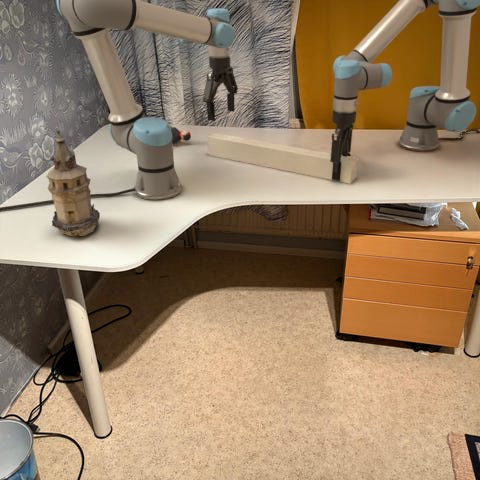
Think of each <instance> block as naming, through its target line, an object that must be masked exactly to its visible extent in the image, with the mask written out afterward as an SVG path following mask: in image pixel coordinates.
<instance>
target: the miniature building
mask: <svg viewBox="0 0 480 480" xmlns="http://www.w3.org/2000/svg"><path fill="white" fill-rule="evenodd" d="M56 134H57V136H56V138H55V140H54V141H55V142H56V147H55V154H54V156H52V157H51V161H52V162H53V165H54V167H53V168H51V169H50V170H49V171H48V173H47V174H46V178H47V179H48V182H49V184H48V186H47V190H48V191H49V193H50V194H51V200H53V201H54V203H53V205H54V209H55V211H53V217H52V220H51V223H52V225H51V227H54V228H56V229H58V230H59V231H60V234H63V235H64V234H65V235H66V236H69V237H77V236H80V237H83V236H87V235H88V234H90V233H93V232H94V231H95V229H96V226H97V225H98V223H99V220H100V216H101V213H100V212H99V210H98V209H96V208H95V204H92V201H91V200H92V199H91V198H92V197H90V194H91V192H92V191H91V188H90V184H91V178H89V177H88V174H87V167H85V166H84V165H83V166H82V165H80V164H77V160H76V154H75V151H74V150H70V149H69V147H68V145H67V143H66V138H65V137H64V136H63V135H61V130H60V129H56Z"/></svg>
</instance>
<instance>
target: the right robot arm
mask: <svg viewBox="0 0 480 480" xmlns="http://www.w3.org/2000/svg"><path fill="white" fill-rule="evenodd" d="M435 5H436V6H438V16H439V17H440V18H442V36H441V39H442V40H441V55H440V56H441V58H440V59H441V60H440V77H439V78H440V79H439V86H438V85H423V86H416V87H414V88H412V89H411V91H410V95H409V98H408V106H407V113H406V114H407V115H406V121H405V122H406V123H405V126H404V128H403V130H402V132H401V135H400V137H399V139H398V146H399V147H400V148H402V149H404V150H407V151H411V152H420V153H428V152H433V151H436V150H438V149H439V147H440V141H458V140H462V139H463V138H464V135H463V134H466V133H469V132H476V133H478V134H480V130H479V129H477V128H470V129H467V128H468V127H469V126H470V125H471V124H472V123H473V121H474V120H475V117H476V114H477V106H476V105H475V103H474V102H473V101H471V100H470V99H471V92H470V90H469V89H468V88H467V79H468V66H469V65H468V63H469V51H470V37H471V27H472V24H471V23H472V17H473V16H474V15H475V14H476V13H477V11H478V7H479V6H480V0H398V1H397V2H396V3H395V4H394V5H393V7H391V9H390V10H389V11H388V12H387V13H386V14H385V15H384V16H383V17H382V18H381V19H380V21H378V23H376V25H375V26H374V27H373V28H372V29H371V30H370V31H369V32H368V33H367V34H366V35H365V37H363V39H362V40H361V41H359V43H358V44H357V45H356V46H355V47H353V49H352V50H351V52H349V53H348V54H347V55H340V56H338V57H337V58H336V59H335V60H334V62H333V65H332V71H333V74H334V87H333V88H334V91H333V101H332V115H331V116H332V118H331V121H332V123H333V124H334V125H336V127H335V129H334V133H332V134H331V149H330V154H331V160H330V162H333V169H332V180H331V181H334V180H337V181H336V182H339V181H340V174H341V162H340V161H341V156H346V157H351V155H352V153H351V152H352V141H353V131H354V124H355V123H356V121H357V120H356V118H357V112H356V110H357V108H358V107H357V105H359V101H358V98H359V91H366V90H367V91H368V90H375V89H381V88H385V87H387V86H389V85H390V84H391V81H392V79H393V78H392V77H393V71H392V68H391V66H390V65H389V64H388V63H385V62H384V63H383V62H382V63H381V62H378V63H372V62H373V61H375V59H376V58H377V57H378V56H379V55H380V54H381V53H382V52H383V51H384V50H385V49H386V47H388V45H389V44H391V43H392V42H393V40H394V39H395V38H396V37H398V35H399V34H401V32H402V31H403V30H404V29H405V27H407V25H409V24H410V23H411V21H412V20H413V19H414V18H416V17H417V15H418V14H422V13H424V12H425V11H426V10H427V9H428V8H429V7H431V6H435ZM438 128H440V129H442V130H445V131H446V132H451V133H459V137H461V135H463V136H462V137H461V138H458V137H439V132H438ZM465 131H466V132H465ZM461 133H462V134H461Z"/></svg>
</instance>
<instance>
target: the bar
mask: <svg viewBox="0 0 480 480" xmlns="http://www.w3.org/2000/svg"><path fill="white" fill-rule="evenodd" d="M207 155H208V156H212V157H215V158H216V157H218V158H221V159H226V160H230V161H231V160H232V161H236V162H242V163H247V164H251V165H256V166H262V167H267V168H271V169H276V170H280V171H286V172H290V173H295V174H301V175H304V176H310V177H314V178H315V177H316V178H321V179H324V180H325V179H326V180H330V181H334V182H340V183H345V184H351V183H352V182H354V180H356V176H357V165H358V158H357V157H351V156H347V157H346V156H342V155H341V161H340V162H341V174H340V181H337V180H332V169H333V162H330V160H331V153H329V152H323V151H317V150H312V149H306V148H301V147H295V146H290V145H285V144H279V143H272V142H268V141H262V140H256V139H252V138H245V137H240V136H234V135H228V134H223V133H219V132H213V133H212V134H209V135H208V136H207Z"/></svg>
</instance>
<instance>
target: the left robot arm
mask: <svg viewBox="0 0 480 480" xmlns="http://www.w3.org/2000/svg"><path fill="white" fill-rule="evenodd" d="M55 1H56V7H57V11H58V13H59V14H60V16H61V17H62V18H63V19H64V20H65V21H66V22H68V24H69V26H70V29H71V32H72V35H73V36H74V37H75V38H77V39H79V40H80V41H81V42H82V45H83V47H84V50H85V53H86V54H87V57H88V60H89V62H90V64H91V67H92V69H93V72H94V74H95V77H96V79H97V81H98V84H99V86H100V89H101V91H102V94H103V97H104V98H105V101H106V103H107V106H108V109H109V112H110V113H109V115H108V117H107V119H108V121H109V127H108V129H109V130H108V131H109V134H110V138H112V140H113V141H114V143H115V144H116V145H118V146H119V147H120V148H122V149H125V150H127V151H129V152H131V153H132V154H134V155H135V156H136V161H137V175H136V179H135V184H134V187H133V188H129V189H125V190H121V191H117V192H109V193H106V192H105V193H90V197H91V198H99V197H101V198H102V197H116V196H121V195H123V194H128V193H132V192H134V193H135V195H136V196H137V197H138V198H141V199H143V200H148V201H161V200H168V199H171V198H174V197H176V196H178V195H179V194H180V193H181V192H182V182H181V180H180V177H179V176H178V173H177V171H176V169H175V161H174V160H175V159H174V158H175V157H174V145H173V144H172V132H171V127H172V126H171V124H170V123H169V122H168V121H167V120H166V119H164V118H161V117H155V116H146V113H145V111H144V109H143V106H142V105H141V104H139V103H137V102H136V100H135V97H134V95H133V91H132V89H131V87H130V84H129V81H128V78H127V75H126V74H125V70H124V68H123V65H122V62H121V59H120V56H119V53H118V52H117V48H116V47H115V44H114V41H113V38H112V36H111V32H110V29H114V30H120V31H126V32H129V31H131V30H132V29H135V30H139V31H143V32H147V33H152V34H157V35H161V36H166V37H171V38H176V39H178V41H179V42H180V43H182V44H193V43H196V44H201V45H205V46H208V56H209V57H208V66H209V69H211V73H208V72H207V73H206V81H205V85H204V91H203V95H202V102H203V103H206V113H207V121H211V122H214V121H216V110H215V109H216V106H215V102H214V100H215V97H216V94H217V91H218V88H219V87H220V86H221V85H222V84H223V85H224V87H225V89H226V91H227V93H226V103H227V104H226V105H227V107H226V108H227V110H226V111H228V112H232V113H233V112H235V108H236V107H235V95H236V94H238V90H239V88H238V84H237V81H236V78H235V75H234V68H233V67H232V66H231V57H230V55H231V46H232V45H233V44H234V41H235V36H236V33H235V29H234V27H233V26H232V25H231V21H230V12H229V10H228V9H227V8H220V7H217V8H209V9H208V10H206V13H207V14H206V16H199V15H195V14H191V13H187V12H184V11H179V10H176V9H173V8H168V7H165V6H162V5H157V4H154V3H150V2H146V1H143V0H55ZM170 126H171V127H170ZM47 204H54V201H53V200H52V199H49V200H42V201H35V202H29V203H22V204H15V205H8V206H0V211H6V210H13V209H19V208H20V209H21V208H27V207H28V208H29V207H34V206H41V205H47Z"/></svg>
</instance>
